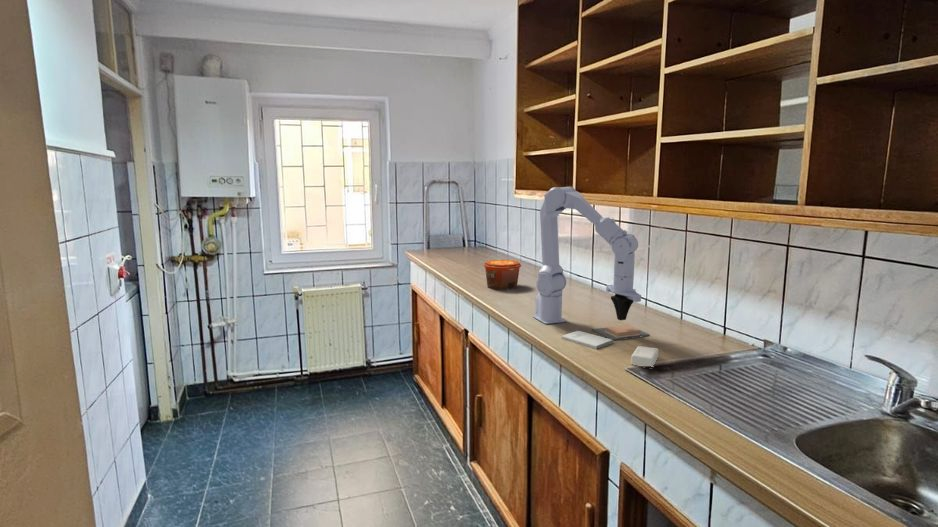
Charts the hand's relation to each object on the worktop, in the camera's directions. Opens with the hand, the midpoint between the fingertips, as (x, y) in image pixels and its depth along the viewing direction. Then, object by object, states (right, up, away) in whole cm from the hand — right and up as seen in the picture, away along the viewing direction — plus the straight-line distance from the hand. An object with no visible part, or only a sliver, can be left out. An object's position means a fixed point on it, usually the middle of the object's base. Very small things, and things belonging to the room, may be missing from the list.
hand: (621, 319), depth 157 cm
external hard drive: (-12, -6, -5) cm, 14 cm away
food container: (-32, +7, +67) cm, 74 cm away
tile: (-1, -3, +3) cm, 4 cm away
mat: (0, -4, +2) cm, 5 cm away
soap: (0, -9, -22) cm, 24 cm away
